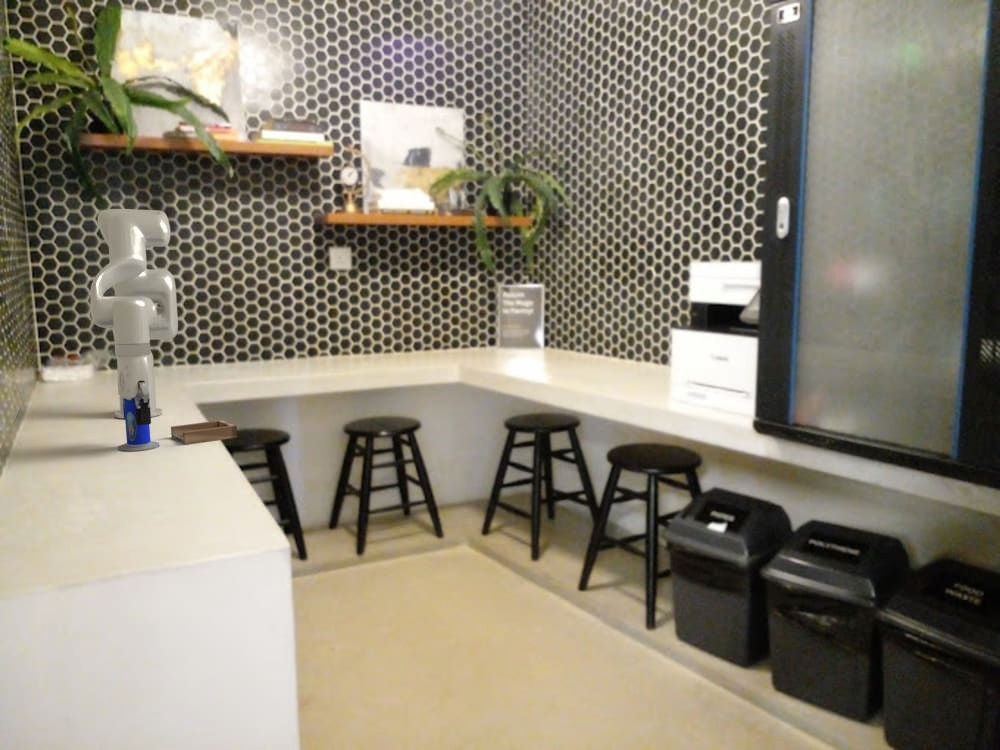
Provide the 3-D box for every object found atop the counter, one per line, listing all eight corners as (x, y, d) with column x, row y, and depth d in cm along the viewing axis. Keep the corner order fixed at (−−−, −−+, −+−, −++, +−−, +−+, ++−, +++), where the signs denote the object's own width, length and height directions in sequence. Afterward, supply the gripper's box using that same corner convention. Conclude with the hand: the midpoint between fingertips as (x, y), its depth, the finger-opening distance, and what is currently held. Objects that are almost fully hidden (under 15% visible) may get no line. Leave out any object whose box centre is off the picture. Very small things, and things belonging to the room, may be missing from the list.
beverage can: (123, 445, 181) (118, 384, 179) (144, 441, 185) (140, 381, 183) (133, 448, 178) (129, 386, 176) (154, 444, 182) (150, 383, 180)
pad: (113, 446, 182) (113, 444, 182) (152, 441, 188) (152, 439, 188) (124, 453, 175) (124, 451, 175) (164, 447, 181) (164, 445, 181)
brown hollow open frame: (171, 438, 191) (170, 426, 191) (222, 431, 200) (221, 420, 199) (185, 444, 184) (184, 432, 183) (237, 437, 192) (236, 425, 192)
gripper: (105, 348, 182) (110, 418, 184) (126, 355, 169) (131, 429, 172) (138, 346, 187) (142, 414, 189) (161, 352, 174) (165, 425, 177)
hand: (137, 421), depth 180 cm, fingers open, 9 cm apart
